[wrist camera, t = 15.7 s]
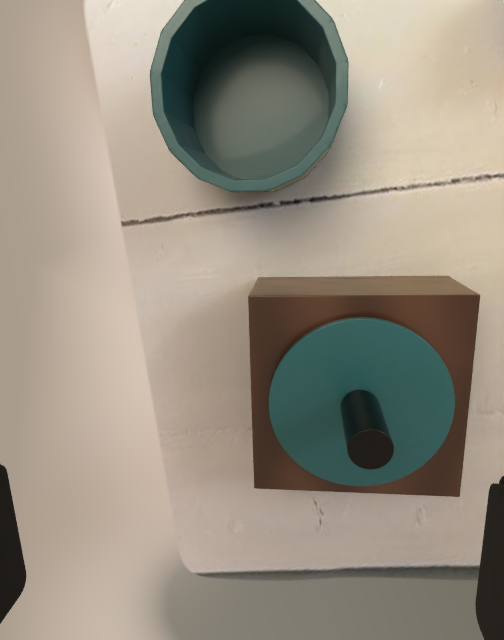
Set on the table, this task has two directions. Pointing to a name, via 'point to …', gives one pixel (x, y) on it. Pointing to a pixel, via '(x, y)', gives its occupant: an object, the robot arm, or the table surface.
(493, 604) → the robot arm
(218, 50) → the pot
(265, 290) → the wooden box
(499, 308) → the table surface
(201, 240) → the table surface
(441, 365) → the lid
